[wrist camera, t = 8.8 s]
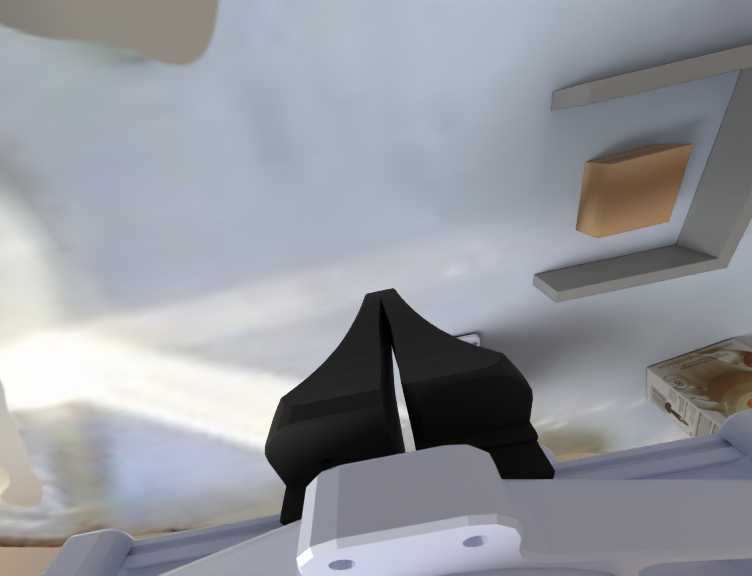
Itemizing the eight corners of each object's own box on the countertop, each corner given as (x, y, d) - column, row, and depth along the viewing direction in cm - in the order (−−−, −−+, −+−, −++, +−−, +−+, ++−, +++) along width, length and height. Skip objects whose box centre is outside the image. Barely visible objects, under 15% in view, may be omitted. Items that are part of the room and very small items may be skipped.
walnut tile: (636, 213, 21) (669, 221, 19) (572, 228, 21) (597, 238, 19) (653, 143, 19) (693, 143, 16) (581, 161, 19) (611, 164, 17)
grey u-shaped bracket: (683, 253, 23) (726, 267, 20) (533, 284, 23) (555, 302, 21) (768, 41, 16) (849, 21, 13) (552, 91, 16) (590, 82, 14)
